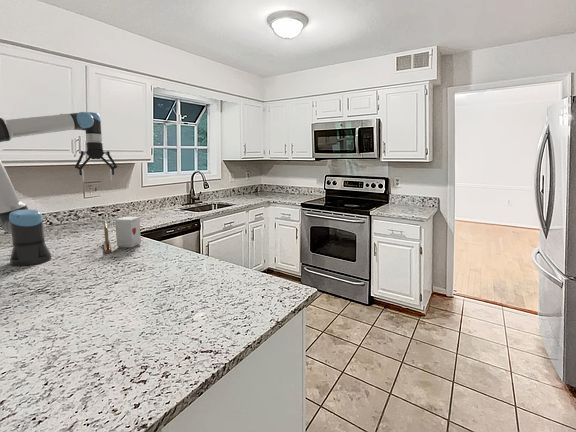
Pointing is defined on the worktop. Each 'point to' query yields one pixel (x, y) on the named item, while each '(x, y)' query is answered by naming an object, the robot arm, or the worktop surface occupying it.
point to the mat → (129, 247)
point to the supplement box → (128, 231)
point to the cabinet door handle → (106, 240)
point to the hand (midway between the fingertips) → (97, 181)
